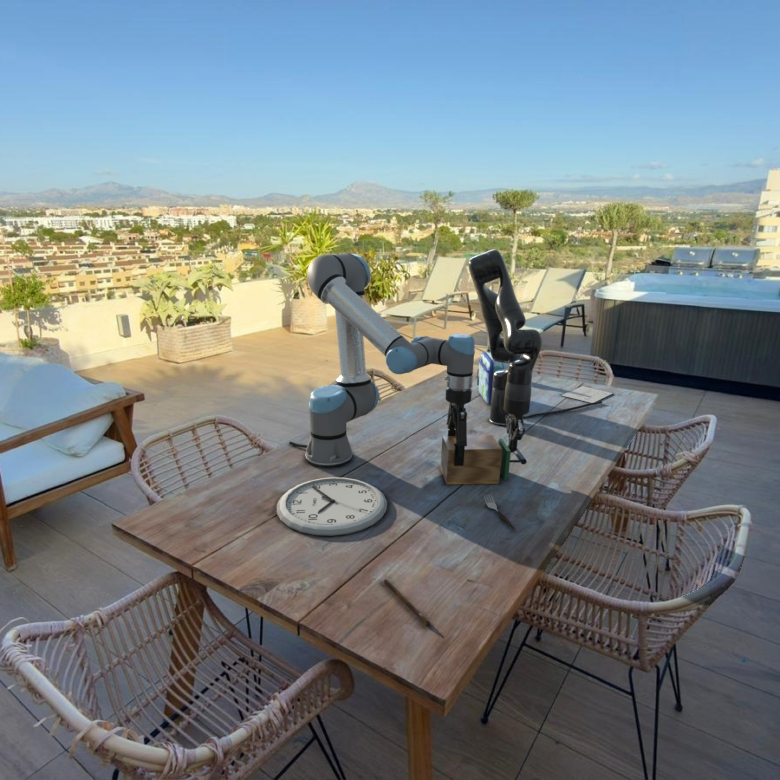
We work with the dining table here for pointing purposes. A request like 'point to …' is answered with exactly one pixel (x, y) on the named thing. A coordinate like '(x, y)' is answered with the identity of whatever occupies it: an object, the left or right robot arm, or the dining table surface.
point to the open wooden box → (472, 460)
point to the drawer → (508, 458)
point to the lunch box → (488, 375)
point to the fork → (494, 506)
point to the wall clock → (331, 506)
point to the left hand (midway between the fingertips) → (454, 457)
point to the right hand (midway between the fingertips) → (512, 450)
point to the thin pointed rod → (407, 602)
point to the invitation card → (587, 394)
